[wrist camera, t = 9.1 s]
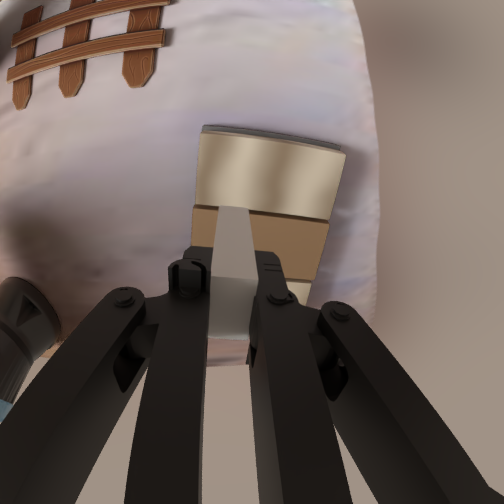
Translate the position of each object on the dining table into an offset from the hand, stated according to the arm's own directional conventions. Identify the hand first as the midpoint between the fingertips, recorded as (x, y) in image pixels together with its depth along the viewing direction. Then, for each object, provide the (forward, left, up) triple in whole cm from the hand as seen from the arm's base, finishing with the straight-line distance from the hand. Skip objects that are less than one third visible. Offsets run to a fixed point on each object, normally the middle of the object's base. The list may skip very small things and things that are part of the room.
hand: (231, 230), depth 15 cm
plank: (+3, 0, -14) cm, 14 cm away
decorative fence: (-21, +15, -17) cm, 31 cm away
